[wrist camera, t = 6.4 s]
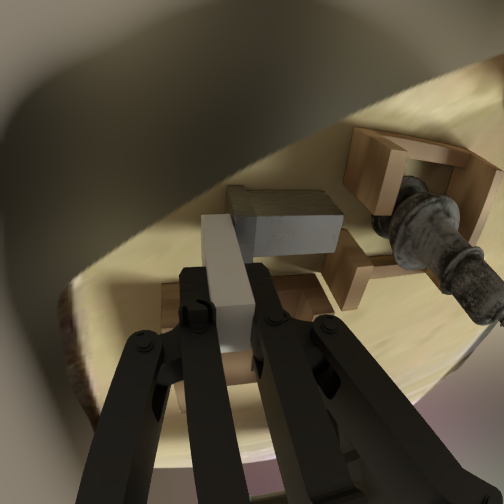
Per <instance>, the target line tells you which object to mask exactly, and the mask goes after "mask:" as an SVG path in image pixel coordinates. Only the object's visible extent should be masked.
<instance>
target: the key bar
mask: <svg viewBox="0 0 504 504" xmlns="http://www.w3.org/2000/svg"><path fill="white" fill-rule="evenodd" d="M225 214H230V216H231V219H232V223H233V226H234V230H235V233H236V237H237V241H238V244H239V248H240V251H241V255H242V258H243V262H244V264H245V263H253V257H265V256H283V255H300V254H317V253H334V252H335V249H336V246H337V242H338V238H339V234H340V230H341V226H342V223H343V219H344V214H343V213H342V212H341V210H340V209H339V208H338V207H337V206H336V205H335V203H334V202H333V201H332V200H331V199H330V198H329V196H328V195H327V194H326V193H325V192H324V191H246V189H245V186H244V185H233V186H227V188H226V212H225Z"/></svg>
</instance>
